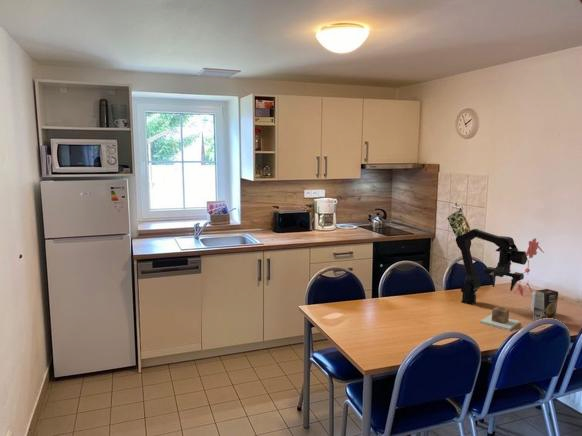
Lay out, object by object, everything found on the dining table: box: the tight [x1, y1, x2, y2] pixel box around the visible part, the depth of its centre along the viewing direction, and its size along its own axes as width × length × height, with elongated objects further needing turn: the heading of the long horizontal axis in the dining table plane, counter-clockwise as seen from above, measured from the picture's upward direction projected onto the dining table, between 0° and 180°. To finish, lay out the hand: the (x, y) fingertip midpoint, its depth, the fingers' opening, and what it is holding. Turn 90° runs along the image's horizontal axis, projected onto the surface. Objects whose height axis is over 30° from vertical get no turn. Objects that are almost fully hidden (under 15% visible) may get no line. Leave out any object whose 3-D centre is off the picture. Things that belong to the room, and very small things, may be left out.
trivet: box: [480, 313, 521, 332], centre depth 226 cm, size 14×14×1 cm
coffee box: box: [532, 288, 559, 322], centre depth 228 cm, size 9×6×16 cm
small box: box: [530, 291, 536, 313], centre depth 241 cm, size 8×6×10 cm
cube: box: [491, 306, 510, 324], centre depth 225 cm, size 6×6×6 cm
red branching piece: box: [514, 237, 545, 296], centre depth 270 cm, size 15×26×35 cm, turn 124°
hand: (502, 288), depth 241 cm, fingers open, 9 cm apart
